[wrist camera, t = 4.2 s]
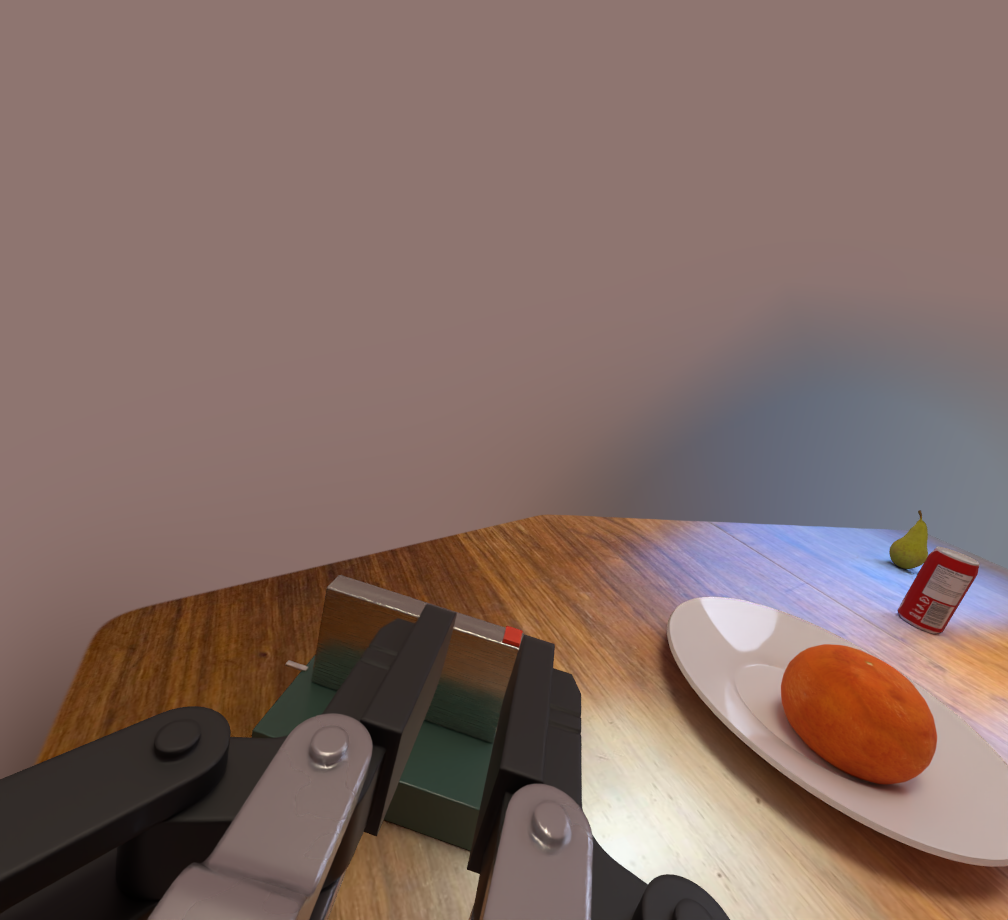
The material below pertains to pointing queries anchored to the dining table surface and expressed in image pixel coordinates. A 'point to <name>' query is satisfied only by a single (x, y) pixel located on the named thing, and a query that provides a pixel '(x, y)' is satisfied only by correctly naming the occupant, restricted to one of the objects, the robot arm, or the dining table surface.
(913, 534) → the fruit
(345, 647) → the upright slab
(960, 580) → the soda can
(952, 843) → the plate
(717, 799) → the dining table surface
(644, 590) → the dining table surface
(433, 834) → the base block
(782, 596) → the dining table surface
